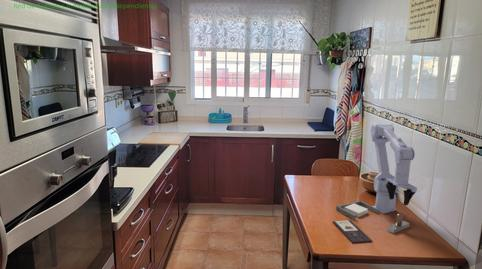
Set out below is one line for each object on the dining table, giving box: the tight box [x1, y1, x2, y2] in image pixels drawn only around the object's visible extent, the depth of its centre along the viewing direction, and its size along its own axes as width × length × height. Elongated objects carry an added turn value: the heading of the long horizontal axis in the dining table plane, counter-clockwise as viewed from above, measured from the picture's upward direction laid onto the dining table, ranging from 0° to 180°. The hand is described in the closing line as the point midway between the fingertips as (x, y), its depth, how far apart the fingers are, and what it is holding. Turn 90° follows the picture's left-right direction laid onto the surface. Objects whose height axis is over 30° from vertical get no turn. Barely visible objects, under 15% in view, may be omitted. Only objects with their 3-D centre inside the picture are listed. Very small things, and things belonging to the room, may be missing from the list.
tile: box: [345, 204, 369, 218], centre depth 163 cm, size 8×8×2 cm
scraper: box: [386, 213, 410, 234], centre depth 147 cm, size 12×3×7 cm, turn 123°
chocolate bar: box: [332, 219, 373, 244], centre depth 144 cm, size 9×1×18 cm
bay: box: [335, 200, 380, 221], centre depth 164 cm, size 17×12×2 cm
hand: (398, 201), depth 151 cm, fingers open, 7 cm apart
